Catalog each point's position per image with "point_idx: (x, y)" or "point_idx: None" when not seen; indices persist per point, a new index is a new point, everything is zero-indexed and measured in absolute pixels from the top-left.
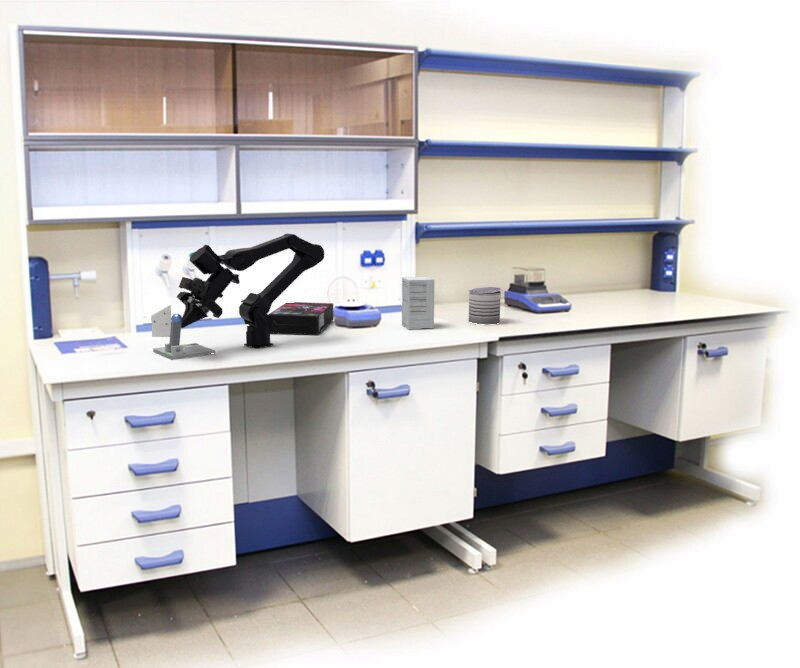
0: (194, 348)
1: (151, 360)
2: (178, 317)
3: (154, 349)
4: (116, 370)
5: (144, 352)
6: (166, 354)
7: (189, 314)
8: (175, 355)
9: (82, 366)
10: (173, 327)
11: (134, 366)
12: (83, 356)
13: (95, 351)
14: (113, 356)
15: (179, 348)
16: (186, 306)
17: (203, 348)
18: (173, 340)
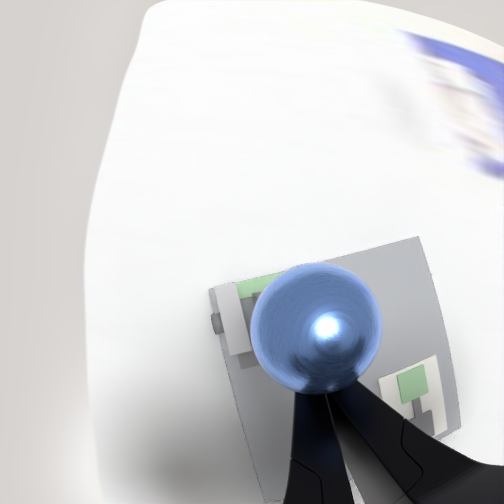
0: None
1: (236, 203)
2: (258, 342)
3: (405, 240)
4: (132, 91)
5: (408, 206)
6: (275, 273)
7: (287, 492)
8: (218, 309)
9: (236, 31)
10: (262, 291)
11: (157, 136)
12: (373, 50)
13: (436, 86)
14: (359, 102)
15: (224, 332)
16: (473, 488)
17: None
18: (255, 299)
